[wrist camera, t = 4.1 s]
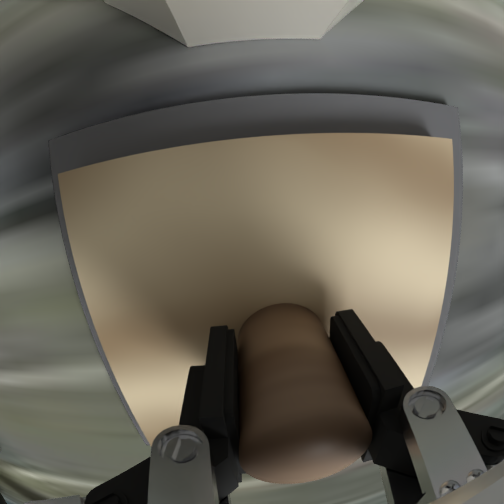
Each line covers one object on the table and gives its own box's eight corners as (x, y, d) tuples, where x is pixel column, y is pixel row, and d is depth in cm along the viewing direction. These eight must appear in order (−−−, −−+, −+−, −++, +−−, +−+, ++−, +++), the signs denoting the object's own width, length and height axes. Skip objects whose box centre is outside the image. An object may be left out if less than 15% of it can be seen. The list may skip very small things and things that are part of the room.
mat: (415, 403, 15) (419, 409, 14) (148, 438, 15) (146, 445, 14) (450, 108, 10) (458, 107, 9) (56, 140, 10) (48, 140, 9)
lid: (401, 403, 14) (446, 482, 8) (157, 435, 13) (139, 527, 8) (434, 139, 9) (558, 144, 4) (74, 171, 9) (-53, 197, 3)
